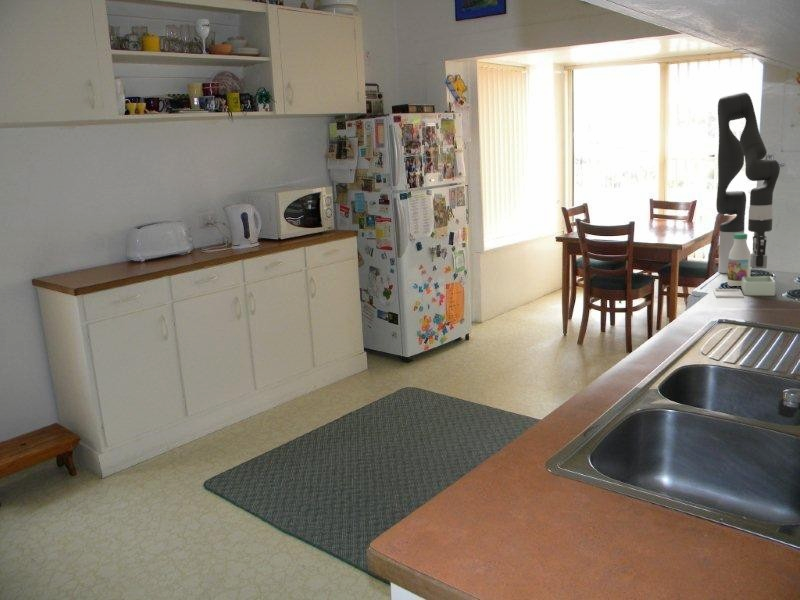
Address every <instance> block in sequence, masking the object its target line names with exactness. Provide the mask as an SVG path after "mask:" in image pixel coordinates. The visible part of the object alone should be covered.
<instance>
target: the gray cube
mask: <svg viewBox="0 0 800 600" xmlns="http://www.w3.org/2000/svg"><path fill="white" fill-rule="evenodd" d="M750 254H751V263H750V266H751V269H752V270H753V269H758V270H759V269H767V266H768V265H767V264H768V261H767V260H768V255H767V254H766V253H765V255H764V257H763V266H762V267H757V266H756V254H755V253H750Z"/></svg>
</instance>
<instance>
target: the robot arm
mask: <svg viewBox="0 0 800 600" xmlns="http://www.w3.org/2000/svg"><path fill="white" fill-rule="evenodd" d="M753 103H754V102H753V101H752V98H751V95H750V94H749V93H747V92H739V93H735V94H729V95H725V96H722V97H720V98H719V100H718V102H717V122H718V150H717V151H718V153H717V169H718V171H717V173H718V174H717V175H718V176H717V177H718V178H717V179H718V181H717V190H716V191H717V193H716V202H715V203H716V204H715V205H716V206H715V207H716V211H717V213H718V214H719V215H736V216H734V218H732V219H730V220H727V221H724V222H721V223H720V225H719V233H718V234H719V237H718V238H719V241H718V242H719V243H718V270H717V271H718V273H721V274H728V259H729V253H730V251H731V249H732V247H733V244H734V234H737V233H744V234H745V219H746V218H745V217H746V216H745V215H746V209H747V195H746V192H745V191H742V190H741V191H739V190H734V191H731V190H729V191H727V189H728V188H729V186H730V184H731V182H733V180H734V179H735V177H736V176H737V175H738V174H739V173H740V171H741V170H742V169H743V167H744V164H745V167H744V168H745V169H744V170H745V172H744V173H745V177H746V178H747V179H748V180H749V181H751V182H761V181H763V183H762V185H760V186H756V187H754V188H752V189H751V190H750V193H749V197H750V198H749V209H748V222H747V223H748V224H747V225H748V226H747V230H748V231H749V232H752V233H754V234H753V235H752V241H753V242H752V251H753V254H756V266H757V267H762V266H763V257H764V255H765V254H766V249H767V236H766V235H765V234H766V232H767V233H768V232H771V231H772V229H773V217H774V216H773V215H774V214H773V212H774V211H773V209H774V208H773V200H774V199H773V198H774V196H773V195H774V191H775V187H776V184H777V181H778V178H779V176H780V170H781V166H780V164H779V162H778V161H777V160H775V159H773V158H772V159H764V158H765V157H766V156H767V148H766V146H765V143H764V141H763V139H762V137H761V136H762V135H761V133H760V130H759V125H758V122H757V117H756V115H757V114H756V113H755V108H754V104H753ZM740 119H745V125H744V127H743V130H742V132H741V134H740V137H739V139H738V138H737V136H736V135H735V134H734V132H733V131H732V129H731V127H730V122H731V121H735V120H740Z"/></svg>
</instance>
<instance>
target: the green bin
mask: <svg viewBox="0 0 800 600" xmlns="http://www.w3.org/2000/svg"><path fill="white" fill-rule="evenodd" d="M740 288H741V289H742V290H741V289H740V290H741V291H742V293H743V295H744V296H774V297H775V295H776V281H775V279H774V278H773V277H772V276H750V277H742V286H741V287H740Z"/></svg>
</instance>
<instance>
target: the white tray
mask: <svg viewBox="0 0 800 600" xmlns="http://www.w3.org/2000/svg"><path fill="white" fill-rule="evenodd" d="M712 291H713V294H714V297H715V298H716V299H719V298H720V299H721V298H723V299H731V298H733V299H735V298H736V299H738V298H740V299H741V298H742V299H743V298H745V295H744V293H743V292H742V290H741V289H740V288H713V289H712Z"/></svg>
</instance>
